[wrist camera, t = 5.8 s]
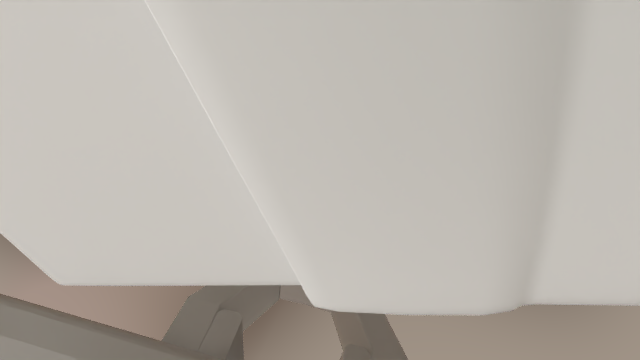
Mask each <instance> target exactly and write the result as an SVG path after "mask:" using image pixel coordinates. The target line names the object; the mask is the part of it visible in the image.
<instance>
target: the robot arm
mask: <svg viewBox="0 0 640 360" xmlns="http://www.w3.org/2000/svg"><path fill="white" fill-rule="evenodd" d="M279 298H280V299H284V300H289V301H292V302H296V303H301V304H305V305H308V306H311V307H315V306H314V305H313V304H312V303H311V302H310V300H309V299H308V297H307V295H306V294H305V292H304V290H303V288H302V286H301V285H232V286H205V287H203V288H202V289H200V290H199V291H197V292H195V293H194V294H192V295H190V296H189V297H188V298H187V300H186V301H185V303H184V305H183V306H182V308H181V310H180V311H179V313H178V315H177V316H176V318H175V319H174V321H173V323H172V324H171V326H170V328H169V329H168V331H167V333H166V334H165V336H164V338H163V339H162V341H159V340H156V339H153V338H149V337H146V336H142V335H139V334H136V333H132V332H129V331H126V330H122V329H119V328H115V327H112V326H108V325H105V324H101V323H98V322H95V321H91V320H88V319H85V318H81V317H78V316H75V315H71V314H68V313H64V312H61V311H58V310H54V309H51V308H47V307H44V306H40V305H37V304H33V303H30V302H27V301H23V300H20V299H17V298H13V297H10V296H6V295H3V294H0V360H244V349H243V348H244V347H243V331H244V330H245V329H247V328H248V327H249V326H250V325H251V324H252V323H253V322H254V321H256V320H257V319H258V318H259V317H260V316H261V315H262V314H264V312H266V311H267V310H268V309H269V308H270V307H271V306H272V305H274V304H275V303H276V302H277V301H278V300H279ZM315 308H318V307H315ZM318 309H321V310H325V311H328V312H331V315H332V317H333V321H334V324H335V327H336V330H337V333H338V336H339V340H340V343H341V346H342V349H343V353H342V356H341V358H340V360H408V359H407V357H406V355H405V353H404V351H403V349H402V347H401V345H400V343H399V341H398V339H397V337H396V335H395V333H394V331H393V329H392V328H391V326H390V324H389V322H388V320H387V318H386V316H385V314H375V313H354V312H338V311H333V310H328V309H323V308H318Z"/></svg>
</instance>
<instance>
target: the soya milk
mask: <svg viewBox="0 0 640 360" xmlns="http://www.w3.org/2000/svg"><path fill="white" fill-rule="evenodd" d="M0 233H1V234H3V236H4V237H6V238H7V239H8V240H9V241H10V242H11V243H12V244H13V245H14V246H16V247H17V248H18V249H19V250H20V251H21V252H22V253H23V254H24V255H26V256H27V257H28V258H29V259H30V260H31V261H32V262H33V263H34V264H36V265H37V266H38V267H39V268H40V269H41V270H42V271H43V272H45V273H46V274H47V275H48V276H49V277H51V278H52V279H53V280H54V281H55V282H57V283H58V284H60V285H73V286H75V285H76V286H77V285H78V286H201V285H202V286H232V285H301V286H302V288H303V290H304V292H305V294H306V295H307V297H308V299H309V300H310V302H311V303H312V304H313V305H314V306H315V307H318V308H323V309H328V310H333V311H338V312H354V313H375V314H396V315H489V314H495V313H502V312H509V311H513V310H515V309H516V308H518V307H519V306H523V305H534V304H554V305H557V304H559V305H627V306H628V305H629V306H631V305H632V306H640V0H0Z"/></svg>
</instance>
